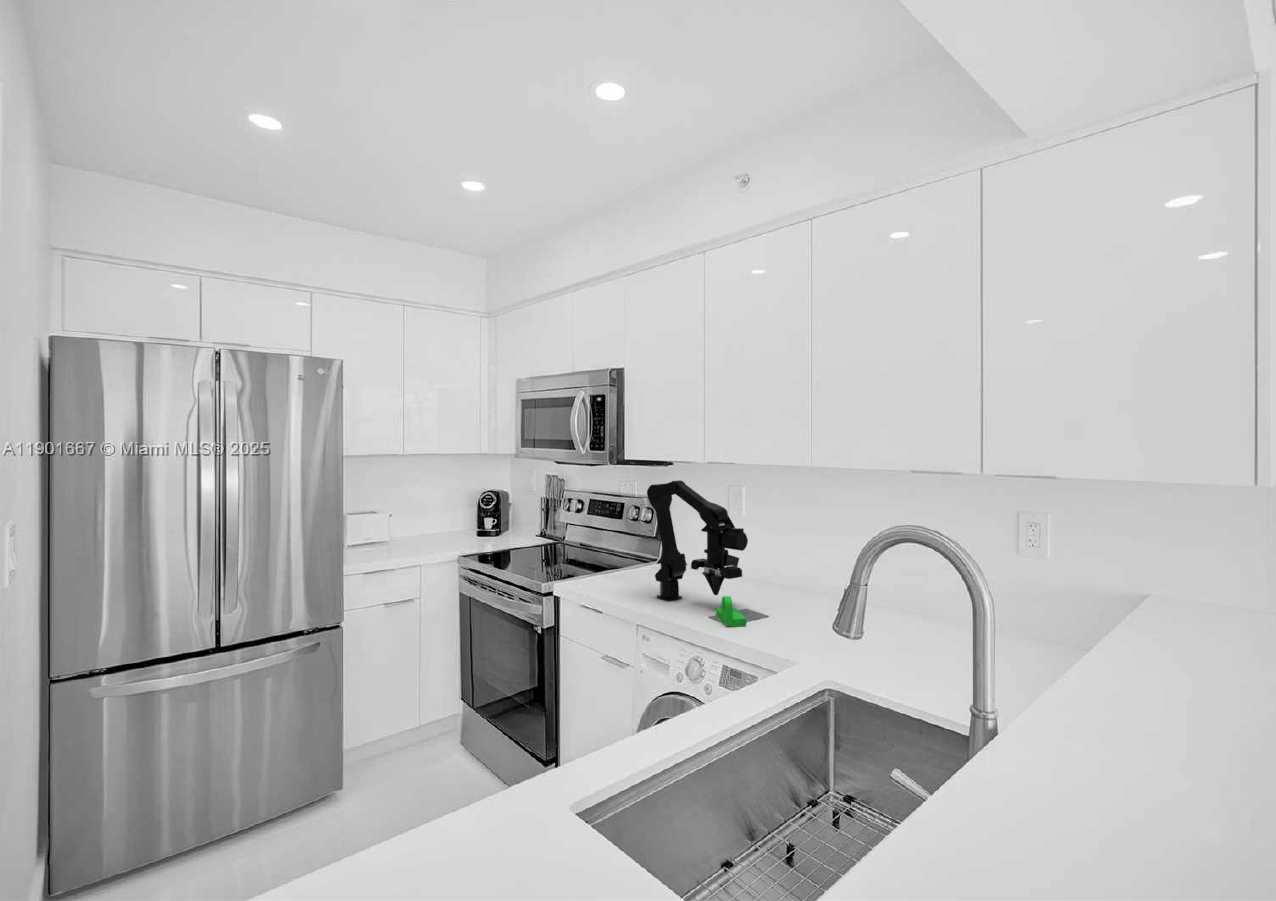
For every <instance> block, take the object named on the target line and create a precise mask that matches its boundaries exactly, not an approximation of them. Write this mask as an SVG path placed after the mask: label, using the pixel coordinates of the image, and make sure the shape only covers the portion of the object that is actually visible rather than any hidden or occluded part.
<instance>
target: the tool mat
mask: <svg viewBox="0 0 1276 901" xmlns="http://www.w3.org/2000/svg"><path fill="white" fill-rule="evenodd" d="M737 610H738V611H739V612H740V613H741V614H742V615H743V616H744V617H745V618H746V623H747V622H748V621H749V622H752V621H751V620H753V621H756V620H755V619H757V620H761V619H765V618H769V617H768V616H769V615H767V614H764V613H761V612H759V611H755V610H751V609H749V608H741V609H737ZM708 618H709V619H711V620H713V619H714V620H713V621H717V622H720V623H722V624H724V623H723V622H722V621H721V619H720V618H719V617H718V616H717V615H715V614H714V615H710V616H708Z"/></svg>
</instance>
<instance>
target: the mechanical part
mask: <svg viewBox="0 0 1276 901" xmlns="http://www.w3.org/2000/svg"><path fill="white" fill-rule="evenodd" d="M738 610H739V609H737V608H734V605H733V599H732V596H731V595H730V596H726V595H725V596H722V597H721V607H716V612H715V613H716V615H717V616H718V617H719V618H720V619H721V621H722V622H723V623H722V624H724V625H725V627H741V626H742V627H743V626H744V627H745V626H747V622H746V618H745V617H744V616H743V615H742V614H741V613H740V612H739V611H738Z"/></svg>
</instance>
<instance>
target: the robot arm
mask: <svg viewBox="0 0 1276 901" xmlns="http://www.w3.org/2000/svg"><path fill="white" fill-rule="evenodd" d="M674 495H676V496H677V497H679V498H680V499H681V500H682V501H683V502H685V503H686V504H687V505H689V506H690V507H691V508H693V509H694V510H695V511H696V512H697V513H698V514H699V517H700V519H701V521H703V523H705V526H704V527H702V528H701V530H700V531H701V532H704V533H706V549H704V551H703V553H705V554H706V558H697V559H693V560H692V561H691V563H690V568H691V569H692V570H694V571H698V570H699V569H700V568H702V569H703V571H702V572H701V573H702V574H701V575H702V576H704V577H705V578H704V579H706V581H707V583H708V586H709V588H710V590H711V591H712V593H713V596H719V592H720V590H721V587H722V584H723V582H724V580H725V579H727V580H731V579H737V578H742V577H743V569H742V568H741V567H738V565H739V561H740V557H738V556H734V555H731V554H729V550H733V551H734V550H736V551H741V552H743V551H745V550H746V549H747V545H748V543H749V542H748V540H749V539H748V537H747V534H746V532H744V531H745V530H744V528H742V527H741V528H740V527H739V528H737V527H736V526H735V525H734V523H733V522H732V520H731V518H730V516H729V514H728V512H729V511H728V510H727V509H726V508H725V507H723V506H721V505H720V504H718V503H714V502H711V501H709V500H707V499H706V498H704V497H703V496H702V495H701V494H699V493H698V492H697V491H695V490H694V489H693V488H691V487H690V486H689V485H687V484H686V483H685V481H683V480H672V481H669V482H667V483H657V484H651V485H649V486H648V489H647V490H646V496H647V498H648V499H647V500H648V501H649V504H650V505H651V507H652V508H653V509H654V511H655V514H656V515H655V516H656V521H657V525H658V532H659V536H660V537H659V538H660V542H661V548H662V555H661V558H660V569H659V570H658V571H657V572H656V573H655V575H654V577H655V581H656V582H659V589H660V590H659V591H660V592H659V594H657V595H656V598H658V597H659V599H661V598H662V600H663V599H664V601H667V602H669V601H674V600H679V599H683V596H681V595H680V593H679V592H680V590H679V589H680V586H679V580H682V579H683V577H684V574H685V573H686V571H687V566H688V563H687V561H686V555H685V553H683V552H682V553H681V552H680V550H679V549H678V546H677V541H676V540H677V539H676V535H675V530H674V524H673V520H672V515H671V504H672V501H673V496H674Z"/></svg>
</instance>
